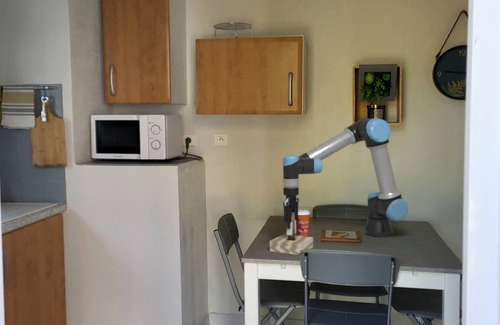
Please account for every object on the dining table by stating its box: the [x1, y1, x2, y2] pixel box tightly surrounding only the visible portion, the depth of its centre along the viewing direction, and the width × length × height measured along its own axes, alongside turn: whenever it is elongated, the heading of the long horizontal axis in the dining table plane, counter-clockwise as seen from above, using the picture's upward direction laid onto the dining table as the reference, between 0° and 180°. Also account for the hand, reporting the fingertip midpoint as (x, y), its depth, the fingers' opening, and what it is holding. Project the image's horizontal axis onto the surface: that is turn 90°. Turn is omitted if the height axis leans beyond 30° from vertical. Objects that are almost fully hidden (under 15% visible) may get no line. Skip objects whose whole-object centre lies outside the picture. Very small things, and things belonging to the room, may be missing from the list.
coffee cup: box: [296, 209, 311, 237], centre depth 266 cm, size 8×8×15 cm
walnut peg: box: [288, 212, 296, 241], centre depth 245 cm, size 4×4×15 cm
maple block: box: [269, 233, 314, 256], centre depth 245 cm, size 16×16×5 cm
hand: (291, 233), depth 245 cm, fingers closed on walnut peg, 3 cm apart
